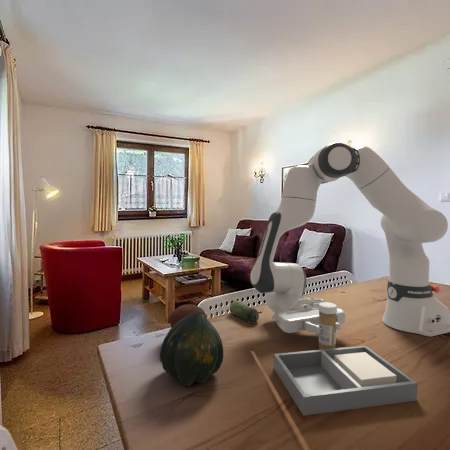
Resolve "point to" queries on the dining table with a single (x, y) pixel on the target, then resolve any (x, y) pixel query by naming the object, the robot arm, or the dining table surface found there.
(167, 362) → the squash
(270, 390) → the dining table surface
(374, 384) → the cream rectangular block
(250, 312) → the vegetable
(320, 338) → the sprinkles bottle
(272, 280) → the robot arm
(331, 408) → the tray
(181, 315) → the muffin
